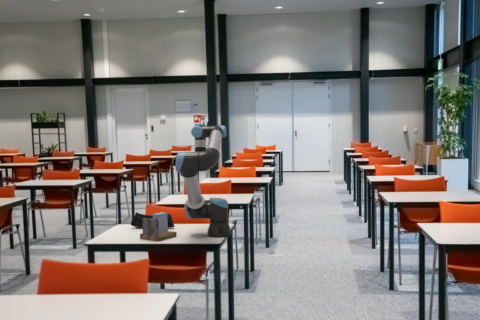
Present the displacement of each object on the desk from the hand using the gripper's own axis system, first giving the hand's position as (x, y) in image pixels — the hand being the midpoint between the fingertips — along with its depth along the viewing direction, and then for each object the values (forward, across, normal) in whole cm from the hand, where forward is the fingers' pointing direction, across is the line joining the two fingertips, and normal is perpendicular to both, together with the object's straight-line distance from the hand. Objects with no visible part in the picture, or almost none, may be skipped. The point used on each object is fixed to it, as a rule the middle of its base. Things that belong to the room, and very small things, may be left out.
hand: (201, 178), depth 347 cm
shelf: (+35, +32, -9) cm, 48 cm away
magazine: (+35, +12, -34) cm, 50 cm away
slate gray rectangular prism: (+32, +30, -9) cm, 45 cm away
